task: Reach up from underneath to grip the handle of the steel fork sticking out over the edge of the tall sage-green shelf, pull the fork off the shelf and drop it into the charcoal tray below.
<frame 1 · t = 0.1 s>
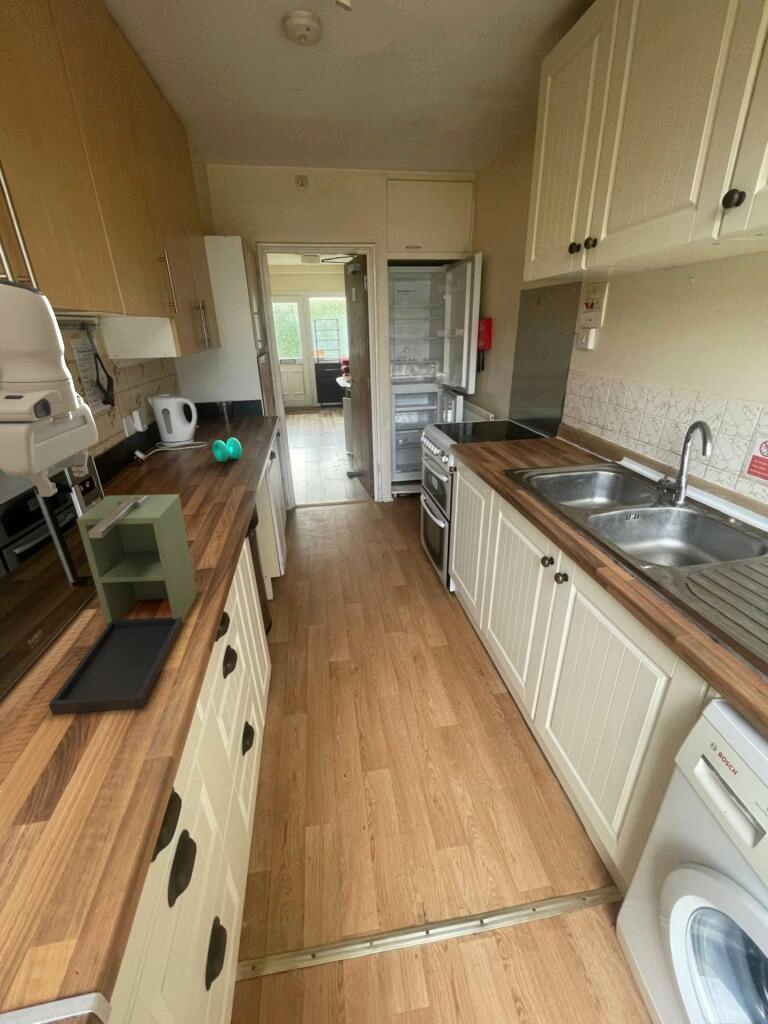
hand: (66, 484, 70), 33 cm above the table, tool pointing down, fingers open, 8 cm apart
fork: (117, 518, 78), point 25 cm above the table, touching shelf
shelf: (155, 611, 93), on the table
turquoise spool: (228, 460, 198), on the table
tray: (126, 664, 78), on the table
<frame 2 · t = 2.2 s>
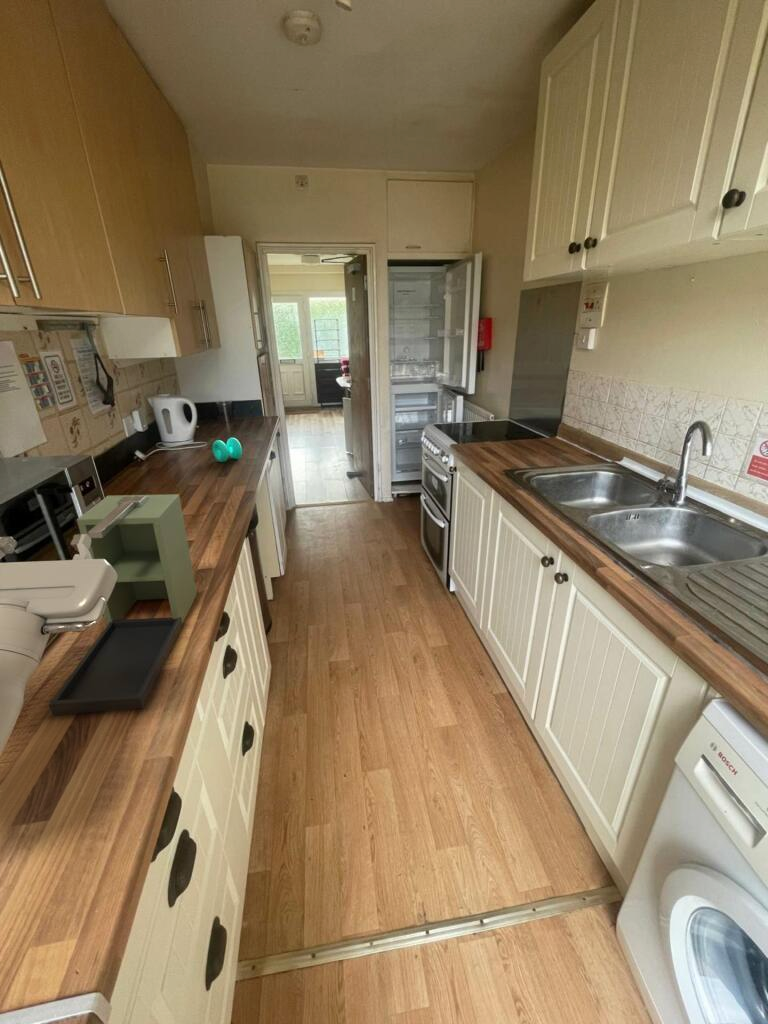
hand: (46, 537, 58), 31 cm above the table, tool pointing upward, fingers open, 8 cm apart
nothing on the table moved.
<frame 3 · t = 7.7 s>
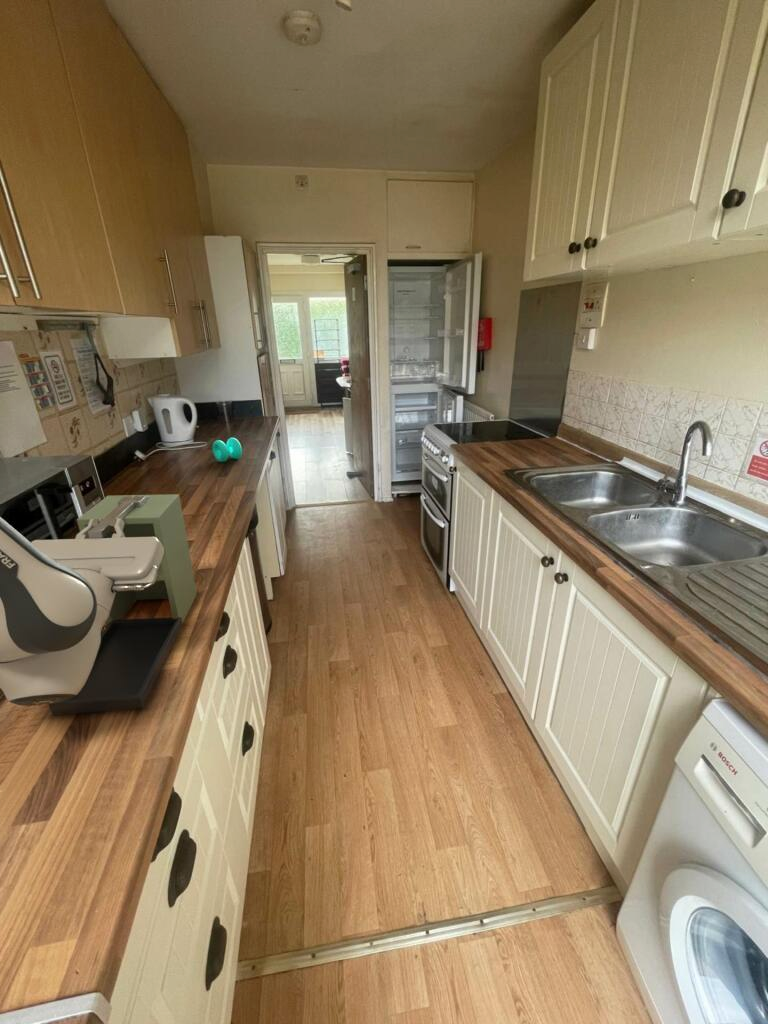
hand: (107, 520, 74), 26 cm above the table, tool pointing upward, fingers closed on fork
fork: (117, 518, 78), point 25 cm above the table, touching gripper, shelf
everything else where it was.
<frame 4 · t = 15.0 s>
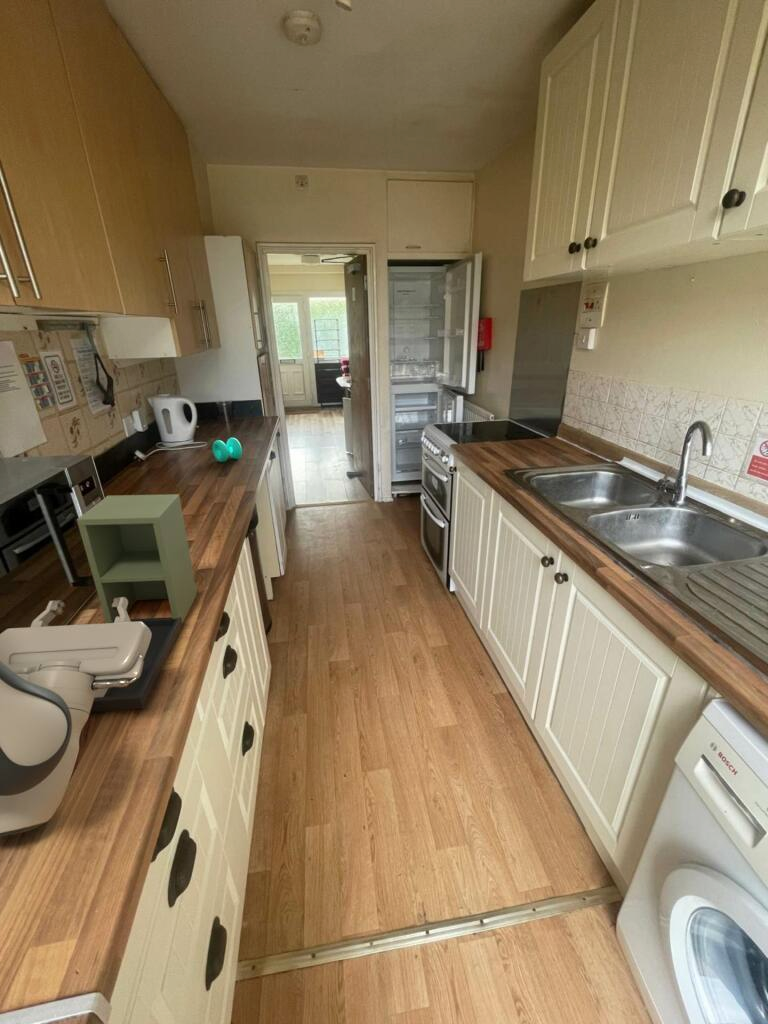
hand: (90, 600, 68), 17 cm above the table, tool pointing upward, fingers open, 8 cm apart
fork: (120, 667, 77), point 1 cm above the table, touching tray
everything else where it was.
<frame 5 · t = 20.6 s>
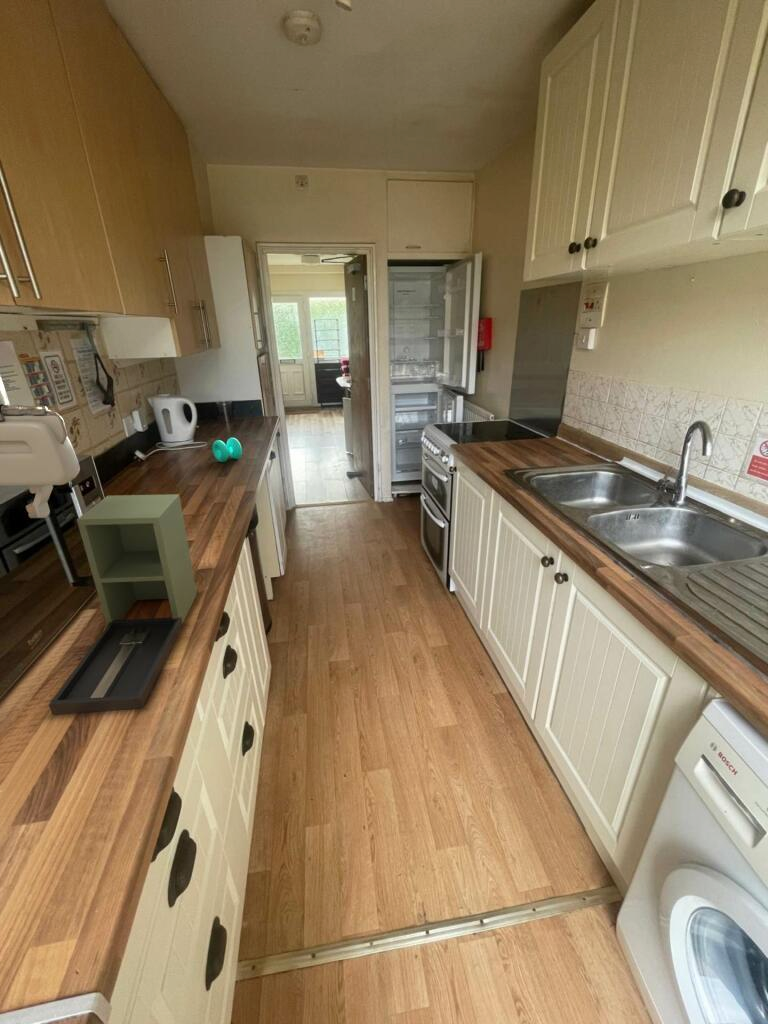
nothing on the table moved.
at the end: fork inside the target area in the tray (1.5 cm from its centre), point 0.8 cm above the tray's base; the gripper is holding nothing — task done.
